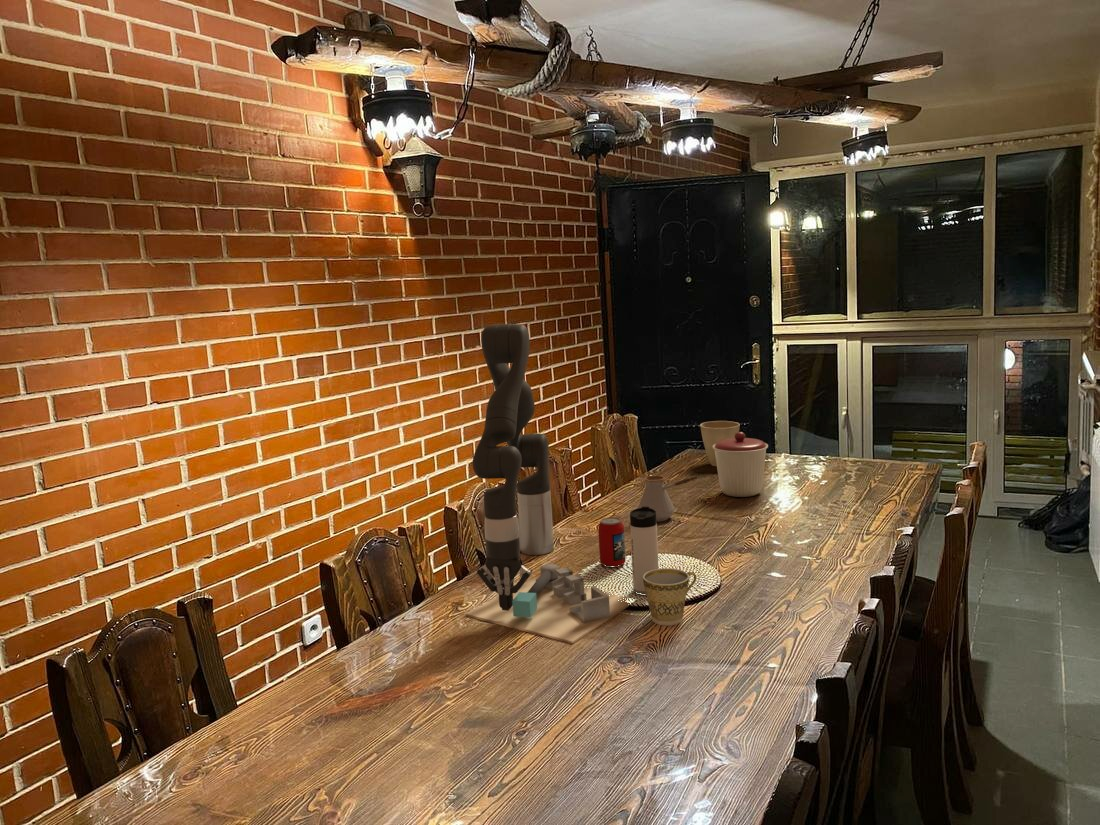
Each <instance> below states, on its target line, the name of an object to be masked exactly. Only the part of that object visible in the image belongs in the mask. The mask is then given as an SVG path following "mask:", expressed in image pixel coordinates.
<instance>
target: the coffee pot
mask: <svg viewBox="0 0 1100 825" xmlns="http://www.w3.org/2000/svg"><path fill="white" fill-rule="evenodd" d="M699 478H700V481H699ZM643 480H644V481H645V483H646V485H645V488H644V491H643V493H642V496H641V498H640V501H639V503H638V507H637V509H638V508H642V506H644V507H649V508H651V509H654V510H655V511H656V522H665V521H667V520H669V519H670V517H672V516H673V515H674V512H675V509H676V508H675V505H674V504H673V502H672V499H671V498H670V496H669V494H668V492H667V490H668V489H670V488H673V487H677V486H681V485H685V484H687V483H689V482H691V481H695V480H697V482H698V483H700V482H702V477H701V476H700V475H695V476H691V477H690V478H689V477H688V478H684V479H681V480H679V481H677V482H674V483H672V484H669V485H666V486H665V485H664V481H665V480H666V477H665V476H663V475H648V476H646V477H644V478H643Z"/></svg>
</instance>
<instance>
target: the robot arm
mask: <svg viewBox="0 0 1100 825" xmlns="http://www.w3.org/2000/svg"><path fill="white" fill-rule="evenodd" d="M480 337H481V338H480V342H481V350H482V354H483V357H484V359H485V363H486V366H487V368H488V371H489V373H490V377H491V379H492V382H493V387H494V391H493V392H492V394H491V395H490V397H489V399H488V401H487V405H486V413H485V420H484V427H483V432H482V434H481V437H480V440H479V442H478V444H477V446H476V449H475V452H474V454H473V457H472V469H473V472H474V474H475V476H476V477H477V478H480V479H483V480H484V479H485V480H486V479H487V480H489V479H490V480H491V479H495V480H496V479H505V482H504V484H502V485H499V486H494V487H492V488H488V489H487V490H485V492H484V494H483V508H484V509H483V510H484V511H483V512H484V523H483V524H484V528H483V529H484V539H485V540H484V541H485V552H486V553H485V554H486V560H485V562H484V565H481V567H479V568H478V569H477V570H476V575H477V576H479V578H480V579H481V580H482V582H483V583H484V585H485V586H486V587H487V588H488V590H489V591H491V593H492V592H494V593H496V594H498V596H499V606H500V608H502V610H506V611H509V610H510V608H511V607H512V606H513V603H512V601H513V593H517V592H518V590H519V589H520V588H521V587H522V585H523V584H524V583H525V582H526V581H528V580H529V577H531V575H532V574H533V570H532V569H531V568H527V567H526V566H525V565H523V564H524V562H523V560H522V559H521V553H522V554H525V555H528V556H529V555H530V556H541V555H542V556H543V555H546V554H549V553H551V552H553V551H554V549H555V546H554V544H555V543H554V528H553V527H554V526H553V512H552V511H553V510H552V499H551V497H552V496H551V484H550V483H551V482H550V461H549V460H550V459H549V458H550V454H549V453H550V450H549V448H550V446H549V439H548V436H547V435H545V433H524V434H523V433H522V431H523V430H524V428H526V426H527V425H528V424H529V422H530V421H531V419H532V418H533V415H534V414H535V411H536V409H535V408H536V404H535V400H534V394H533V390H532V388H531V386H530V384H529V383H528V382H527V380H526V379H525V375H526V370H527V366H528V362H529V356H530V347H531V345H530V344H531V343H530V342H531V341H530V333H529V330H528V328H527V327H526V325H524V324H520V323H510V324H509V323H507V324H506V323H505V324H491V325H487V326H485V327H484V328H483V329H482V331H481V336H480ZM508 364H511V367H510V366H509V365H508ZM504 443H507V445H502V444H504ZM523 468H537V470H536V471H535V472H533V474H531V475H529V476H526V477H523V478H522V479H519V476H520V474H521V473H520V472H521V469H523ZM517 504H518V505H517ZM517 506H518V508H517ZM517 510H518V513H517ZM519 571H520V572H519ZM518 574H519V576H520V578H519V580H518V581H517V583H515V582H514V581H515V577H517V575H518ZM514 583H515V585H514Z"/></svg>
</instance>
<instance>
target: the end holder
mask: <svg viewBox="0 0 1100 825" xmlns="http://www.w3.org/2000/svg"><path fill="white" fill-rule="evenodd" d="M590 589H591V599H589V600H584V601H581V605H580V606H575V607H571V608H570V613H572V614H573V615H574V616H575V617H576V618H578V619H579V620H580V621H581V622H583V623H584V624H585V623H589V622H593V621H597V620H601V619H606V618H610V606H609V596H608V595H607V594H605V593H604V592H605V591H602V590H601V589H599V588H598V587H597V586H596V585H594V586H591V587H590ZM610 619H611V618H610Z"/></svg>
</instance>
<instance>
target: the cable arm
mask: <svg viewBox="0 0 1100 825" xmlns="http://www.w3.org/2000/svg"><path fill="white" fill-rule="evenodd" d="M539 568H540V576H539V577H537V578H538V579H537V581H536V582H535V583H534V585H533V586H532V587H531V588H530V590H529V591H528V592H527V593H526V592H519V593H518V594H517V596H516V597H515V598H514V599H513V601H512V603H513V616H517V617H531V616H532V615H533V613H534V612H535V611H536V609H537V597H538V595H539V594H540V592H541V591H542V590H543V588H544V587H545V586H546V584H547V583H548V582H549V580H552V579H556V578H558V577H559V575H557V574H556V573H555V570H557V569H559V565H557V564H556V563H555V564H554V563H547V564H544V565H541V566H540V567H539Z"/></svg>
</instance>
